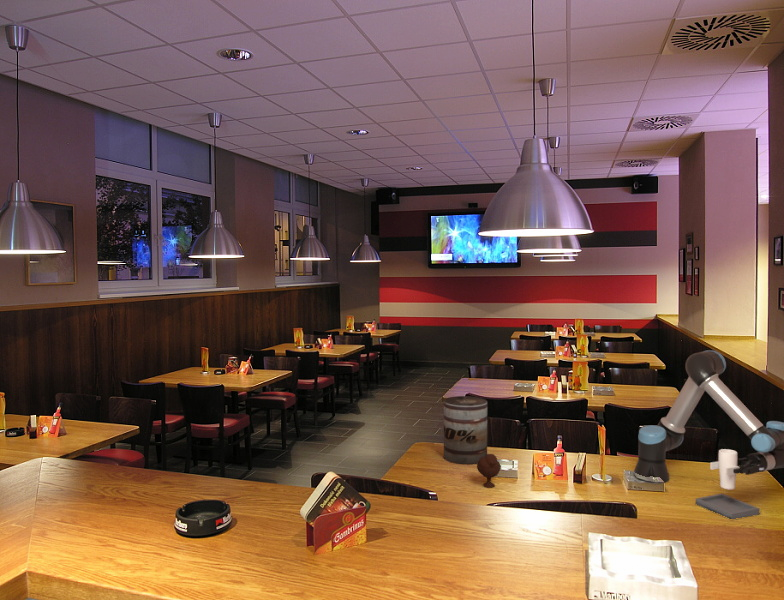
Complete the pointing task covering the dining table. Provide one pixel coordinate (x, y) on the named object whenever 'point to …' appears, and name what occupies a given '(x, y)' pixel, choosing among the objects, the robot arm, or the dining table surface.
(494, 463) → the ice cream bowl
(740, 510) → the serving tray
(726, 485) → the drinking glass
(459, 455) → the barrel
